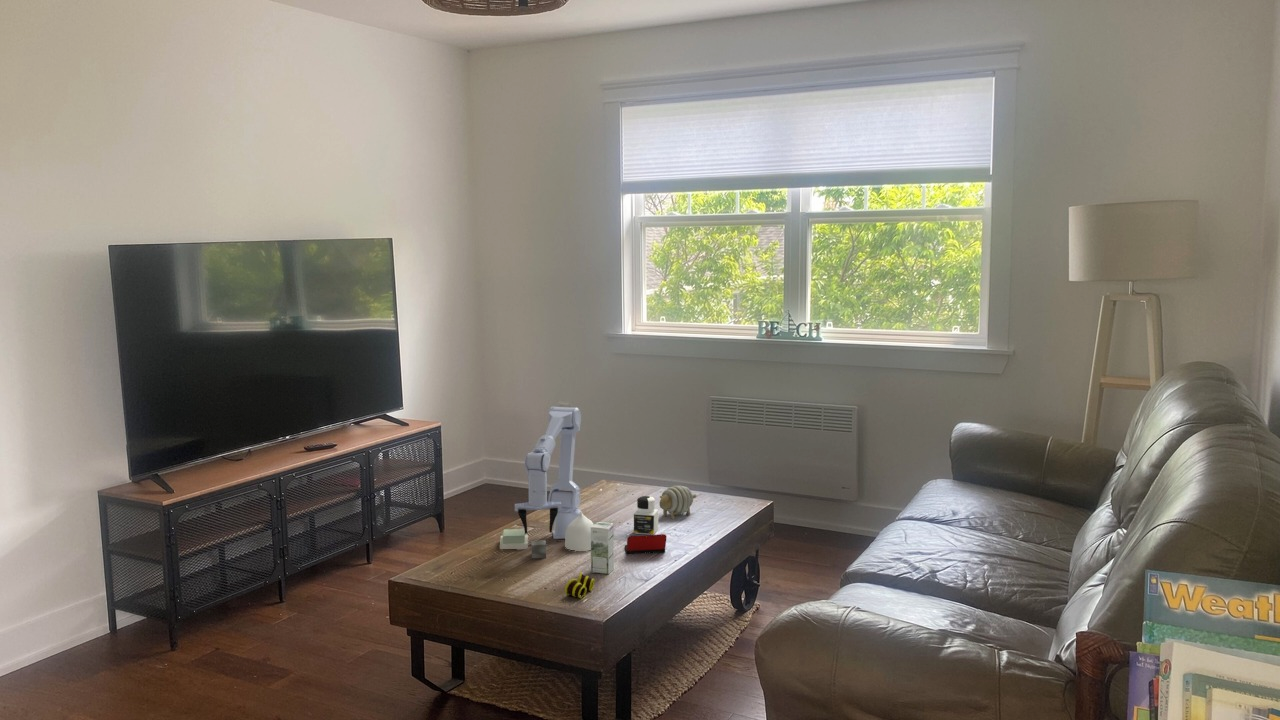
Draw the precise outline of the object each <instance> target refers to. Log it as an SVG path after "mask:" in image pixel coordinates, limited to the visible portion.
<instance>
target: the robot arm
mask: <svg viewBox="0 0 1280 720" xmlns="http://www.w3.org/2000/svg"><path fill="white" fill-rule="evenodd" d="M547 419H548V425H547V428H546V429H545V430H546V431H545V433H544V435H541V436H540V437H539V438H538V439H537V442H536V444H535V446H534V447H533V450H532V451H530V452H529V453H527V454H526V456H525V458H524V459H525V460H524V467H525V470H526V476H527V478H528V484H527V485H528V502H522V503H521V502H520V503H514V512H517V513H518V517H519V518H520V521H521V522H522V525H523V529H524V530H525V535H527V534H528V523H527V511H540V510H541V511H545V510H549V530H548V531H549V533H551V534H552V537H553V540H558V539H559V540H560V539H564V540H565V533H566V530H567V527H568V526H569V524H570V523H571V522H572V521H573V520H575V519H576V518H577V517H578V516H579V514H580V512H581V511H582V509H579V507H580V506H581V499H582V498H581V489H580V486H579V485H577V484H576V483H575V482H574V480H573V479H574V478H573V475H574V463H575V446H576V437H577V436H576V435H577V433H579V432H580V431H581V424H582V413H581V411H580V409H579V408H578V407H565V406H564V407H563V406H562V407H561V406H553V405H552V406H551V407H550V408H549V410H548V415H547ZM559 435H560V443H559V444H560V446H559V459H558V460H559V462H558V476H557V481H556V482H555V483H553V484H552V485H550V490H549V491H550V492H549V494H548V481H547V479H548V478H547V477H548V475H547V473H548V472H547V471H548V470H549V469H550V464H551V459H552V458H551V456H552V454H553V451H554V450H555V447H556V438H557V437H558V436H559ZM553 527H554V528H553Z"/></svg>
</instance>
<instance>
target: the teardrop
mask: <svg viewBox="0 0 1280 720" xmlns="http://www.w3.org/2000/svg"><path fill="white" fill-rule="evenodd" d="M593 524H594V523H593V521H592V520H591V519H589V518H587V516H585V514H583V511H582V510H581V512H580V514H579V516H578V517H577V518H576V519H575V520H573V521H572V522H571V523H570V524H569V526H568V527H567V530H566V533H565V538H564V541H565V542H564V548H565V547H566V548H567V549H570V550H575V551H574V552H576V551H586V552H588V551H587V550H591V526H592V525H593ZM566 548H565V549H566ZM567 549H566V550H567ZM570 550H569V551H570Z"/></svg>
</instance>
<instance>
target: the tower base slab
mask: <svg viewBox="0 0 1280 720" xmlns="http://www.w3.org/2000/svg"><path fill="white" fill-rule="evenodd" d="M499 542H500V543H499V550H500V549H517V550H528V549H529V535H528V534H525V543H507V544H503V535H500V538H499ZM527 548H528V549H527Z"/></svg>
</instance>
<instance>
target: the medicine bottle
mask: <svg viewBox="0 0 1280 720" xmlns="http://www.w3.org/2000/svg"><path fill="white" fill-rule="evenodd" d="M636 505H637V507H636V508H637V510H635V512H634V513H633V533H634V534H638V535H656V534H655V533H657V531H658V529H659V509H658V508H656V506H655V505H656V499H655V498H654V497H653V496H650V495H644V496H643V495H642V496H640V497H637V500H636Z"/></svg>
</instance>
